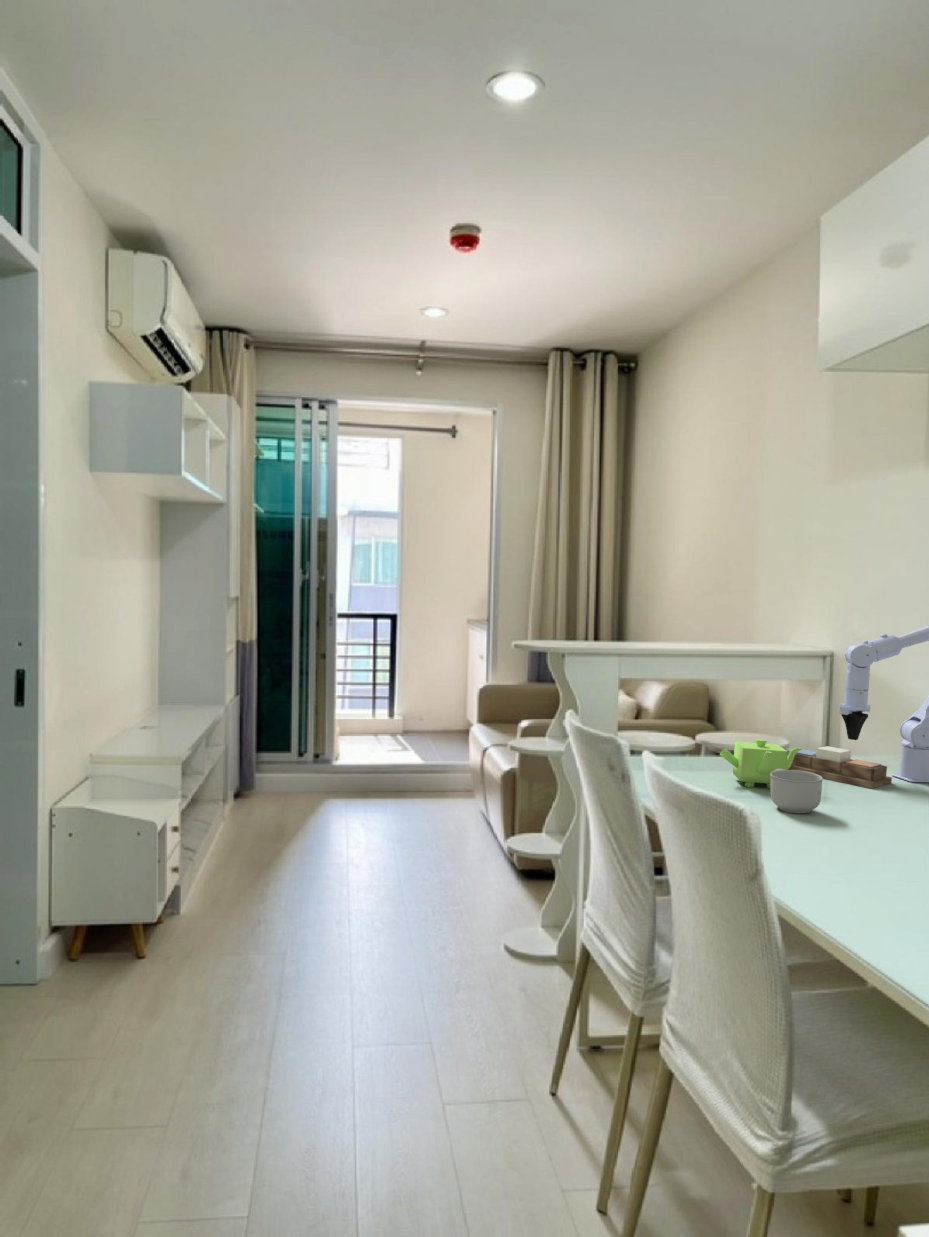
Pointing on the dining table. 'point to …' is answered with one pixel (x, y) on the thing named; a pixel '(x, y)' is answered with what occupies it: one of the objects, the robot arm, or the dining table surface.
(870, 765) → the terracotta key
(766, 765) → the kettle
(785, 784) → the teacup
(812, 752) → the slate blue key
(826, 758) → the cream key
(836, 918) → the dining table surface
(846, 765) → the wooden compartment tray
